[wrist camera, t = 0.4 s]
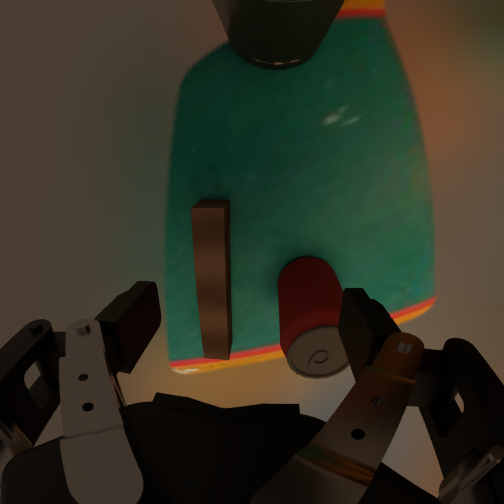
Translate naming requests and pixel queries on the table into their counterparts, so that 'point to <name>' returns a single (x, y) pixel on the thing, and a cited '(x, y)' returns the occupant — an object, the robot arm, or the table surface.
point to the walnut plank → (213, 275)
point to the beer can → (311, 318)
